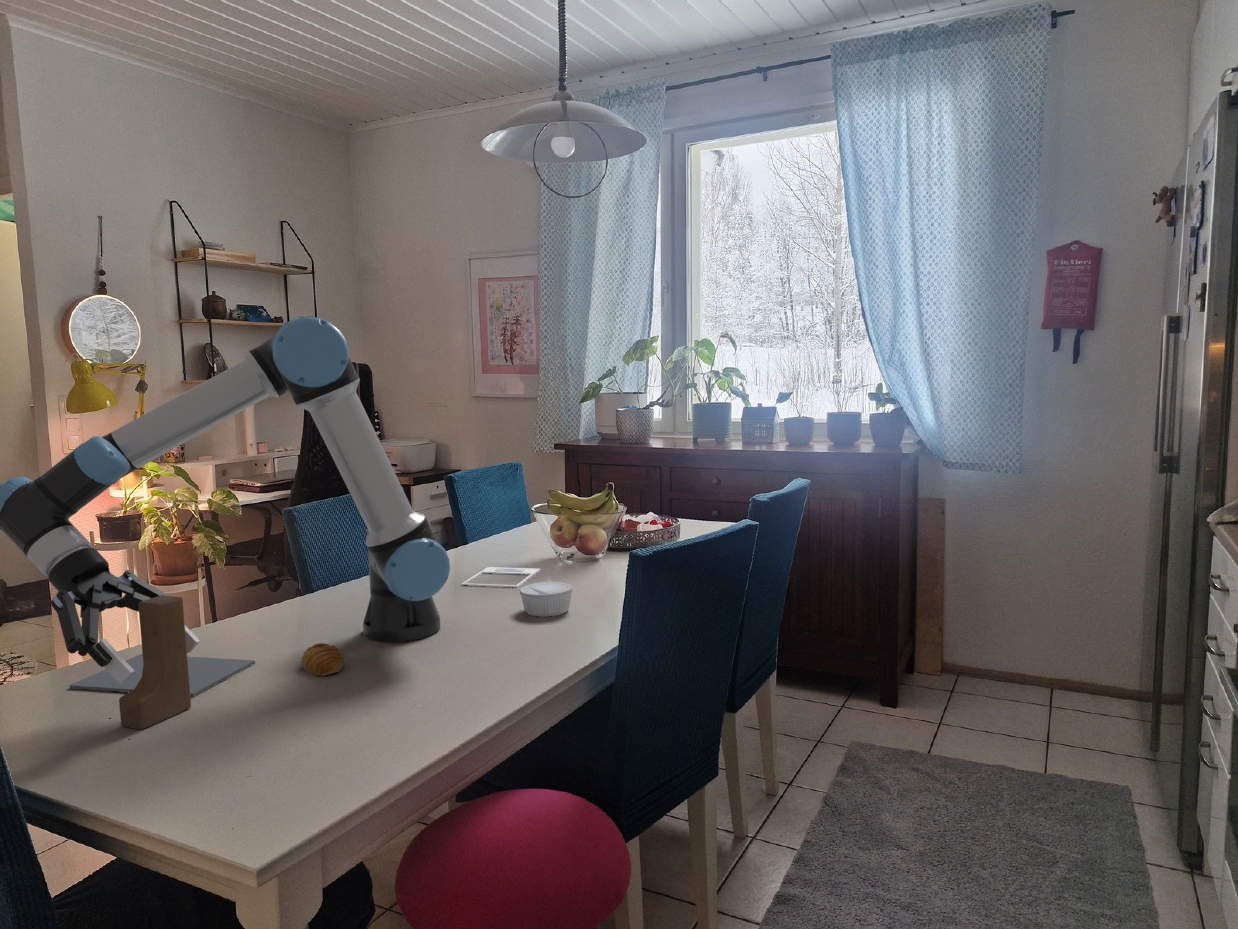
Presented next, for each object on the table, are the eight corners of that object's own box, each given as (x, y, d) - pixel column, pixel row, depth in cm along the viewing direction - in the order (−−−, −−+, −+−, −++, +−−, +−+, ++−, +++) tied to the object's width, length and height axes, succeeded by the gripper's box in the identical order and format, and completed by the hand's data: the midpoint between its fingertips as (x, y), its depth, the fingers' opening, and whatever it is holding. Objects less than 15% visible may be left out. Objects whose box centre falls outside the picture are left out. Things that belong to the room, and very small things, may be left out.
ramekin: (511, 616, 180) (510, 592, 179) (535, 602, 190) (535, 579, 189) (558, 621, 175) (557, 596, 175) (581, 606, 186) (580, 583, 185)
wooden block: (141, 731, 124) (131, 612, 122) (120, 727, 126) (109, 609, 124) (192, 708, 133) (183, 596, 131) (171, 704, 134) (162, 594, 132)
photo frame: (540, 568, 220) (517, 585, 203) (540, 572, 220) (517, 589, 203) (487, 566, 223) (460, 583, 206) (487, 570, 223) (461, 587, 206)
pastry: (352, 672, 148) (351, 651, 147) (313, 682, 144) (311, 660, 143) (335, 658, 155) (334, 638, 155) (298, 667, 151) (296, 646, 151)
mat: (255, 663, 153) (255, 660, 153) (193, 697, 137) (193, 693, 137) (141, 657, 158) (141, 653, 158) (69, 688, 142) (69, 685, 142)
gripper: (120, 560, 142) (204, 651, 141) (-19, 600, 118) (81, 710, 117) (145, 530, 141) (230, 621, 139) (8, 564, 116) (110, 675, 115)
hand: (162, 662), depth 128 cm, fingers open, 13 cm apart
